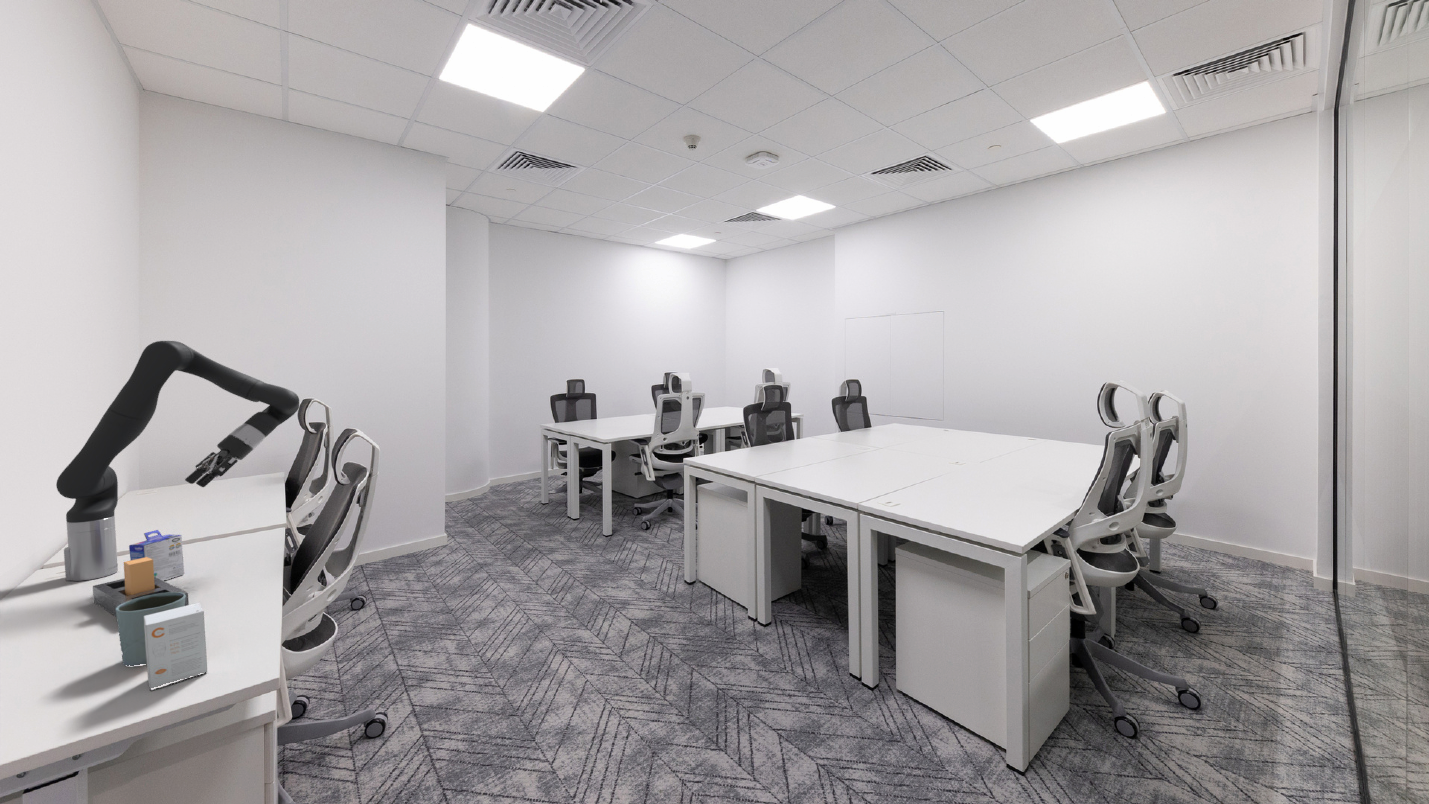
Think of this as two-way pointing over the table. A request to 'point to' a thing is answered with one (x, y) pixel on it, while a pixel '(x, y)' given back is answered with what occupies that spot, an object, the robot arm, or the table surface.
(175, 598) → the grey-green hollow cylinder
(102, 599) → the gray slotted block
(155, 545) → the ink cartridge box
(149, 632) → the small box
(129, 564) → the square peg
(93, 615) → the table surface
